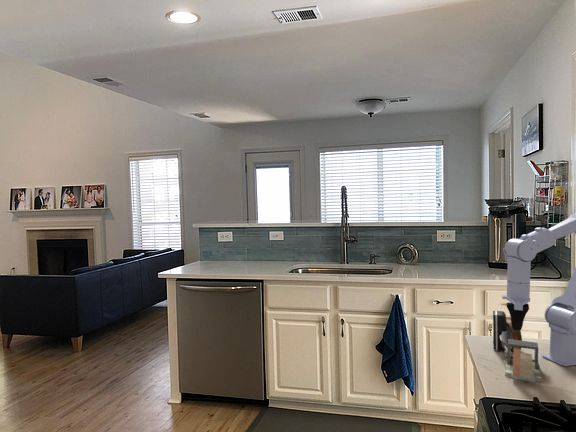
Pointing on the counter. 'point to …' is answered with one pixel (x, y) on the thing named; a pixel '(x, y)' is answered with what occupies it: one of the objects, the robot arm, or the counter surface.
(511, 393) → the counter surface
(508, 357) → the grey box
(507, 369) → the track board
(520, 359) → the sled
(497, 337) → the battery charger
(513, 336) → the tin
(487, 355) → the counter surface
